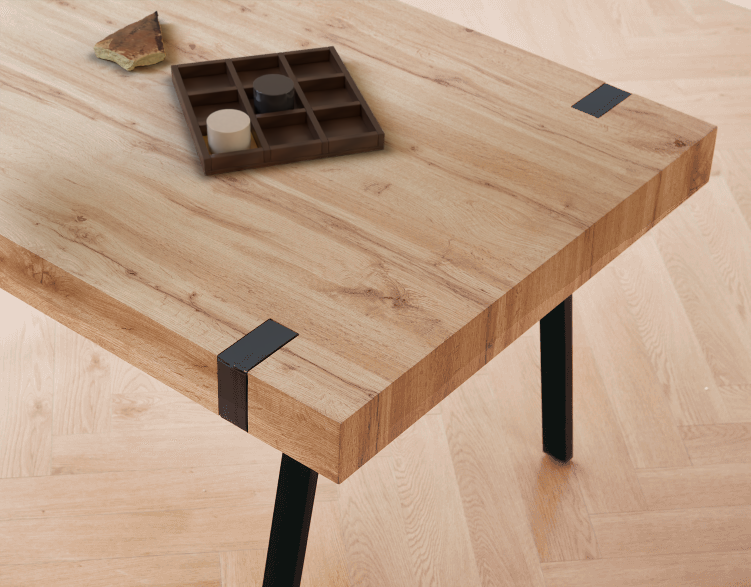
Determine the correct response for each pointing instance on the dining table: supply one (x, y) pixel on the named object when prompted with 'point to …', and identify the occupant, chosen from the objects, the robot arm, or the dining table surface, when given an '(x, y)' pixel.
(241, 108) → the board
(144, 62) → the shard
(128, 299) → the dining table surface
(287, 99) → the black stone
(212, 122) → the ivory stone
